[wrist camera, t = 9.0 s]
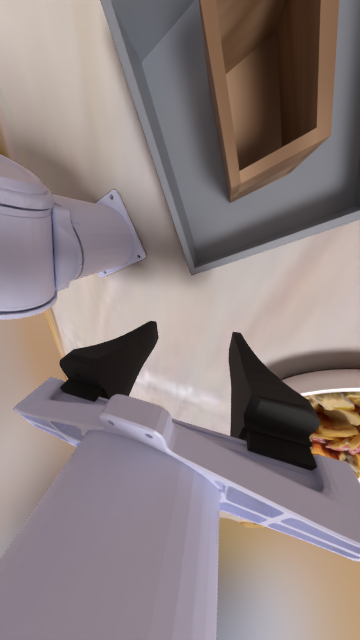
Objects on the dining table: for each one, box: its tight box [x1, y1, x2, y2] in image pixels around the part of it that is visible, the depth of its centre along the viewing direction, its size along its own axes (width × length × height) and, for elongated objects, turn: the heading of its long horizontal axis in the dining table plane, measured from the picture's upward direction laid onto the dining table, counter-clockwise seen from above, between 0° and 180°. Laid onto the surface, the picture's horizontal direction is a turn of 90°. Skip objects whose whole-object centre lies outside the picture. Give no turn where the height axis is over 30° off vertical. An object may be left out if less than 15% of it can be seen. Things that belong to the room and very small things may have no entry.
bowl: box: [282, 369, 360, 483], centre depth 23 cm, size 30×30×8 cm
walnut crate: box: [199, 0, 339, 203], centre depth 9 cm, size 5×8×6 cm, turn 22°
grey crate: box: [100, 0, 360, 275], centre depth 11 cm, size 15×17×4 cm
